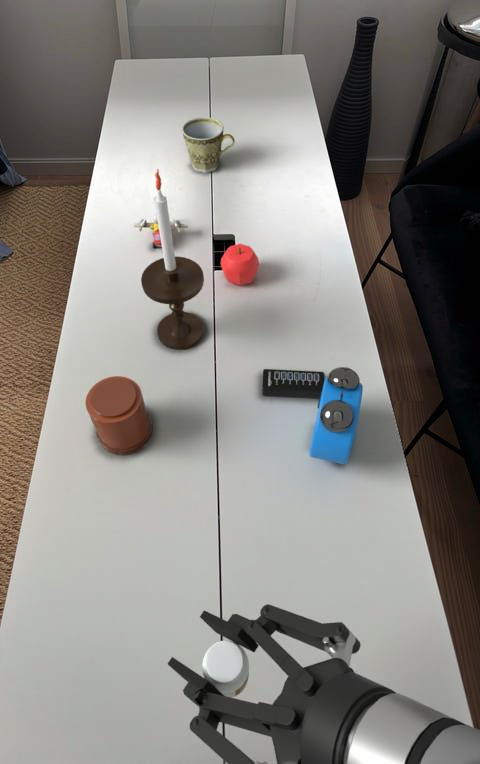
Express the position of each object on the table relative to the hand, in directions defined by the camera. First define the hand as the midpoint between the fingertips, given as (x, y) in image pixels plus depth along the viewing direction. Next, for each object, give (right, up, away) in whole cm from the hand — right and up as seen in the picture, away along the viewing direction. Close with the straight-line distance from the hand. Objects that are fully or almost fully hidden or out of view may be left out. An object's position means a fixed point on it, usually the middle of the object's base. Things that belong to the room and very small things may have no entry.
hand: (194, 644), depth 54 cm
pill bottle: (+3, -4, +1) cm, 5 cm away
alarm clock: (+20, +16, +39) cm, 46 cm away
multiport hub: (+14, +25, +45) cm, 53 cm away
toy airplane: (-13, +58, +70) cm, 92 cm away
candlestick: (-7, +35, +53) cm, 64 cm away
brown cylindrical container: (-15, +17, +40) cm, 46 cm away
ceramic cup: (-3, +81, +86) cm, 118 cm away
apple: (+4, +48, +62) cm, 78 cm away
